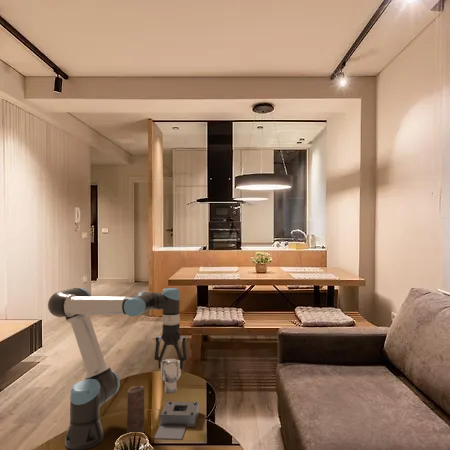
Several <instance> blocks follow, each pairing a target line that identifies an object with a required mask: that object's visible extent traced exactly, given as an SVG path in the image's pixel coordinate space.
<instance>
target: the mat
mask: <svg viewBox="0 0 450 450" xmlns="http://www.w3.org/2000/svg"><path fill="white" fill-rule="evenodd" d="M186 428H187V427H181V426H160V425H159V426H158V429H157V431H156V433H155V434H154V437H153V440H177V441H182V440H183V437H184V434H185V431H186Z"/></svg>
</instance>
